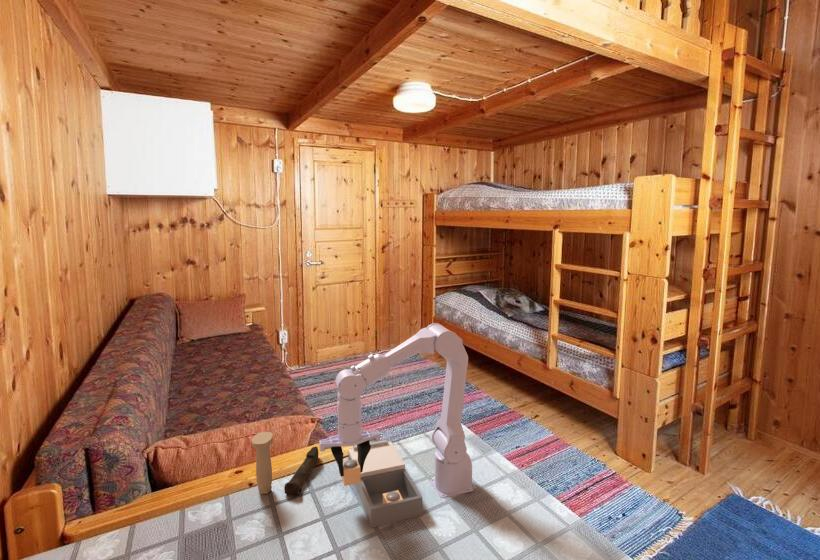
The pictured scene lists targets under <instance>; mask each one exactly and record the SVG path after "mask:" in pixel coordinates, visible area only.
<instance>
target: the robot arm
mask: <svg viewBox="0 0 820 560" xmlns="http://www.w3.org/2000/svg"><path fill="white" fill-rule="evenodd" d="M435 351H436V352H437V353H438V354H439V355H441V356H442V357H443V358H444V360H446V367H445V376H444V387H443V397H442V404H441V412H440V413H441V414H440V418H439V419H438V420H437V421H436V424H435V428H434V430H433V431H432V434H431V441H432V443H433V445H434V446H435V452H434V478H432V479H429V483H430V485H431V486H432V487H433V489H434V490H435V492H436V494H437V495H438V497H439V498H440V499H442V498H448V497H452V496H455V495H460V494H464V493H466V494H468V493H471V492H473V491H474V489H473V462H472V459H471V457H470V455H469V453H468V452H467V450H468V449H467V445H466V442H465V441H466V440H465V439H466V437H465V436H466V435H465V432H464V428H463V425H462V416H463V410H464V401H465V400H464V399H465V392H466V391H465V390H466V381H467V372H468V364H469V355H468V353H467V351H466V349H465V346H464V344H463V338H461V337H460V336H459V335H458V334H457V333H456V332H454V331H451V330H449V329H448V328H446V327H445V326H444V325H442V324H441V323H438V322H433V323H431V324H428V326H427V327H423V328H421V329H420V330H419V331H417V332H416V333H415V334H413V335H412V336H411V337H409V338H408V339H406V340H404V341H403V342H402V343H400V344H398V345H397V346H396V347H394V348H393V349H391V350H389V351H388V352H386V353H385V354H381V353H375V354H372V353H371V354H369V355H367V359H365V360H363V361H361V362H359V363H358V364H356V365H353V364H352V366H350V368H345V369H342V370H340V371H339V372H338V373H337V375H336V376H335V379H334V380H333V382H334V385H335V387H336V388H337V395H336V396H337V397H336V398H337V401H336V410H337V411H336V412H337V434H335V435H333V436H332V435H331V436H329V437H327V438H323V439H320V440H319V441H318V443H319V447H318V449H319V451H320V452H325V451H326V450H330V451H331V454H332V456H333V458H334V460H335V461H336V463H337V467H338V472H339V475H340V477H341V476H344V470H343V461H344V452H343V448H342V447H353V446H355V445H357V450H358V463H359V465H360V472H362V471H363V466H364V462H365V459H366V457H367V455H368V453H369V451H370V449H371V445H370V443H371V442H377V441H381V434H380V433H381V432H380V431H379V430H362V429H363V427H362V426H363V425H362V400H361V395H362V394H363V392H364V390H365V389H367V388H368V387H369V386H371V385H373V384H375V383H376V382H378V381H380V380H381V379H383V378H384V377H386V376H389V374H390V371H391V369H392V367H393V366H396V365H397V364H399V363H401V362H404V361H405V360H407V359H410V358H411V357H414V356H415V355H418V354H419V353H423V354H428V355H429V354H430V355H435Z"/></svg>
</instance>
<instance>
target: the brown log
mask: <svg viewBox="0 0 820 560" xmlns="http://www.w3.org/2000/svg"><path fill="white" fill-rule="evenodd" d="M305 456H306V457H305V459H304V460H303V462H302V463H301V465H300V466H299V467H298V469H297V470H296V472H294V474H293V475H292V477H291V479H290V480H289V481H288V482H286V483H285V484H284V486H283V487H284V489H283V490H284V493H285V495H286V496H288V497H297V496H298V495H299V493H301V490H302V486H303V485H304V484H305V482H306V480H307V479H308V477H309V476H310V474H311V473H312V471H313V469H316V467H317V464H318V461H319V447H318V446H312V448H311V447H310V450H308V451H307V453H306V455H305Z"/></svg>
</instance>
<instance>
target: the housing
mask: <svg viewBox="0 0 820 560" xmlns="http://www.w3.org/2000/svg"><path fill="white" fill-rule="evenodd" d="M347 454H348V455H347V457H348V459H347V460H351V458H350V456H349V452H348V453H347ZM354 486H355V488H356V491H357V494H358V497H359V499H360V501H361V505H362V507H363V510H364V513H365V515H366V518H367V521H368V523H369V526H370V528H371V529H372V528H376V527H380V526H384V525H388V524H392V523H396V522H400V521H404V520H408V519H409V520H410V519H413V518H416V517H420V516H421V517H422V516H423V496H422V494H421V493H420V491H419V490H418V487H417V486H416V484H415V483H414V481H413V479H412V478H411V476H410V474H409V473H408V471H407V470H406V468H405V469H400V470H395V471H391V472H386V473H381V474H376V475H371V476H366V477H362V478H361V483H356V484H354ZM397 490H398V491H399V493H400V495H401V496H402V498H403V500H399V501H395V502H390V503H386V504H383V494H384V493H388V492H392V491H397Z"/></svg>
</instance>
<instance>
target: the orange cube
mask: <svg viewBox="0 0 820 560" xmlns="http://www.w3.org/2000/svg"><path fill="white" fill-rule="evenodd" d="M343 470H344V476H340V478H341V481H342V483H343V485H344V487H345V486H351V485H355V484H356V483H361V472H360V465H359V463H358V460H357V459H352V460H348V459H347V460H343Z"/></svg>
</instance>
